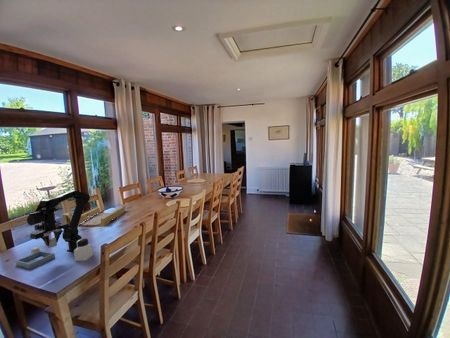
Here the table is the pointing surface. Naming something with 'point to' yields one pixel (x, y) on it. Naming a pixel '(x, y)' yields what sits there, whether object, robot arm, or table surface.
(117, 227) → the table surface
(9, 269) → the table surface
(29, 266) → the dish
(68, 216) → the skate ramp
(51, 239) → the pebble
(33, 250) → the pebble
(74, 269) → the table surface
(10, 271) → the table surface
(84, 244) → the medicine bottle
